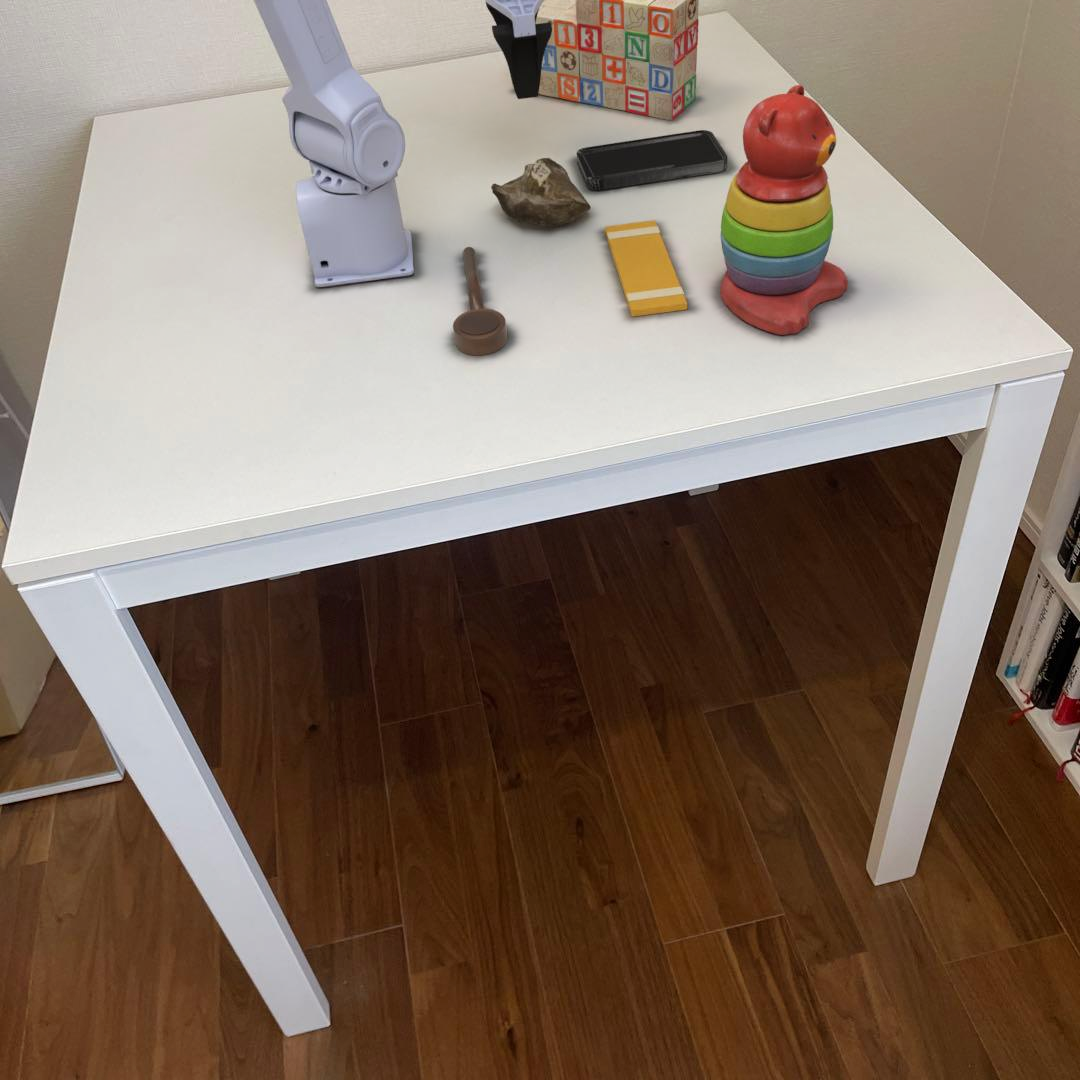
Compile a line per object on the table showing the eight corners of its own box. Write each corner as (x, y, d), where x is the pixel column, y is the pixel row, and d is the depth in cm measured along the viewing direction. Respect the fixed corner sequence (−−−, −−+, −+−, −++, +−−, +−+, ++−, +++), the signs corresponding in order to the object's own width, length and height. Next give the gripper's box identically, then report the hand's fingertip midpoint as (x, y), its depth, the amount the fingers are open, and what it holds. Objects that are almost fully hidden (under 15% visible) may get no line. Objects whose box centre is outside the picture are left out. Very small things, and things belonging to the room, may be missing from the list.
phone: (574, 149, 119) (709, 128, 120) (575, 158, 119) (709, 138, 120) (588, 182, 113) (730, 160, 114) (589, 192, 114) (730, 170, 115)
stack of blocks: (515, 91, 133) (505, -17, 125) (542, 71, 137) (534, -35, 128) (672, 121, 124) (673, 7, 116) (697, 99, 128) (700, -13, 119)
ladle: (446, 258, 107) (443, 241, 106) (492, 252, 107) (490, 235, 106) (457, 358, 95) (454, 340, 94) (509, 351, 95) (507, 333, 94)
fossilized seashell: (471, 201, 110) (546, 244, 106) (495, 136, 107) (574, 178, 103) (513, 208, 116) (585, 249, 112) (537, 146, 113) (612, 187, 109)
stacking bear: (791, 342, 93) (811, 140, 80) (692, 305, 98) (697, 109, 86) (856, 284, 98) (884, 86, 86) (759, 251, 104) (772, 60, 91)
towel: (631, 317, 98) (631, 309, 97) (604, 232, 108) (604, 225, 108) (687, 309, 98) (687, 301, 97) (655, 226, 108) (655, 218, 108)
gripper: (563, -43, 97) (572, 108, 107) (544, -90, 108) (553, 51, 117) (485, -33, 97) (500, 117, 107) (472, -81, 107) (488, 59, 117)
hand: (523, 83), depth 112 cm, fingers open, 6 cm apart
